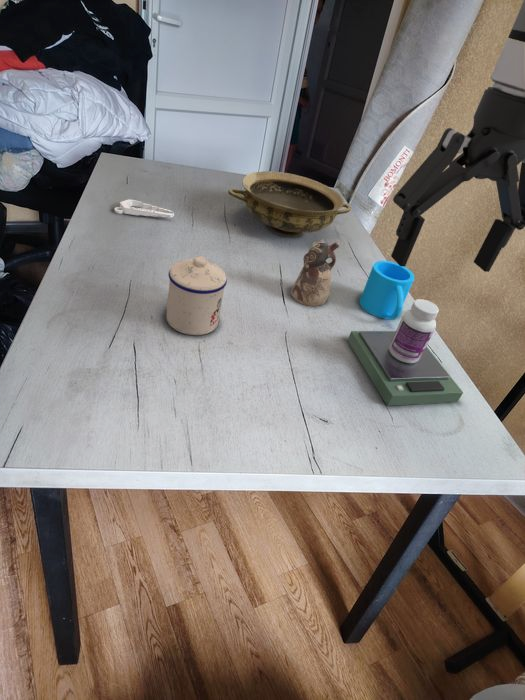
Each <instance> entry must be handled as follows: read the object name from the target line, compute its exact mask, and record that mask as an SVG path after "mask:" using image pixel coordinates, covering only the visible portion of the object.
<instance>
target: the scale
mask: <svg viewBox="0 0 525 700" xmlns="http://www.w3.org/2000/svg"><path fill="white" fill-rule="evenodd" d="M359 332H396V330H350V333H349V335H348V338H347V343H348V344H349V346H350V347H351V349H352V350H353V353H354V354H355V356H356V357H357V359H358V361H359V363H361V366H362V367H363V369H364V370H365V372H366V373H367V375H368V377H369V378H370V380H371V381H372V383H373V385H374V387H375V388H376V390H377V391H378V393H379V395H380V396H381V398H382V400H383V401H384V403H385V404H386V406H387V407H390V406H391V407H392V406H410V405H411V406H412V405H427V404H428V405H429V404H430V405H431V404H448V403H458V402H459V400H460V399H461V397H462V395H463V394H464V391H463V390H462V389H461V388H460V386H459V385H458V384H457V383H456V381H455V380H454V379H453V378H452V376H451V375H450V374H449V372H448V371H447V370H446V369H445V368H444V365H442V364H441V362H440V361H439V360H438V359H437V357H436V356H435V355H434V354H433V352H432V351H431V350H430V349H429V347H428V345H427V346H426V348H427V349H428V350H429V352H430V353H431V354H432V355H433V357H434V358H435V359H436V360H437V362H438V363H439V364H440V365H441V367H442V368H443V369H444V371H445V372H446V373H447V374H448V376H449V379H447V380H419V381H391V382H390V381H389V380H388V378H387V377H386V375H385V374H384V372H383V371H382V369H381V368H380V366H379V365H378V363H377V362H376V360H375V358H374V357H373V355H372V354H371V352H370V351H369V349H368V348H367V346H366V345H365V343H364V342H363V340H362V338H361V337H360V335H359Z"/></svg>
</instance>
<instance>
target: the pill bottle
mask: <svg viewBox="0 0 525 700" xmlns="http://www.w3.org/2000/svg"><path fill="white" fill-rule="evenodd" d="M439 312H440V309H439V307H438V306H437V305H436V304H435V303H434V302H433V301H430V300H427V299H423V298H417V299H415V300H414V301H413V303H412V305H411V307H410V309H408V310H406V311H405V312H404V313H403V315H402V316H401V318H400V321H399V324H398V325H397V328H396V330H395V331H396V332H395V335H394V337H393V339H392V341H391V344H390V347H389V350H390V353H391V354H392V355H393V356H394V357H395V358H396V359H398V360H400V361H402V362H405V363H415V362H417V361H419V359H420V358H421V356H422V354H423V352H424V350H425V348H426V346H427V347H428V344H429V342H430V340H431V339H432V336H433V334H434V332H435V331H436V328H437V321H436V318H437V317H438V314H439Z"/></svg>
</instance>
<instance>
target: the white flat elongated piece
mask: <svg viewBox="0 0 525 700" xmlns="http://www.w3.org/2000/svg"><path fill="white" fill-rule="evenodd" d="M114 212H115V213H116V214H119V215H120V214H121V215H122V214H126V215H132V216H145V217H150V216H151V217H161V218H162V217H163V218H169V219H170V218H173V217H175V212H174V211H172V210H171V209H168V208H167V209H166V208H163V207H159V206H156V205H152V204H150V203H146V202H145V203H144V202H142V201H141V200H135V199H125V200H123V201H119V206H115V207H114Z"/></svg>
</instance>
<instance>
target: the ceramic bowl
mask: <svg viewBox="0 0 525 700" xmlns="http://www.w3.org/2000/svg"><path fill="white" fill-rule="evenodd" d="M241 184H242V186H243V187H244V189H245V190H244V189H243V190H242V189H237V188H236V189H235V188H229V189H228V190H227V193H228V194H229V196H231V197H233V198H234V199H237V200H239V201H241V202H244V203H245V205H246V208H247V209H248V211H249V212H250V213H251V214H252V215H253V216H254V217H255V218H257V219H258V220H259V221H261V222H262V223H264V224H265V225H268V227H269V229H270V230H271V231H272V232H273V233H276V234H278V235H280V236H285V237H299V236H301V234H302V233H314V232H318V231H322V230H324V229H326V228H328V227H329V226H330V225H332V223H333V222H334V221H335V219H336V217H337V216H338V215H343V214H347V213H349V212H351V210H352V206H351V204H349V203H346V202H345V201H344V198H343V197H342V195H341V194H340V193H339V192H338V191H335V189H333V188H331V187H330V186H328V185H326V184H324V183H321V182H319V181H317V180H314V179H312V178H309V177H307V176H306V177H305V176H301V175H298V174H294V173H288V172H281V171H271V170H269V171H266V170H265V171H255V172H250V173H248V174H246V175H245V176H244V178H243V179H242V183H241ZM342 208H346V209H342ZM340 209H342V210H340Z"/></svg>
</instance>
